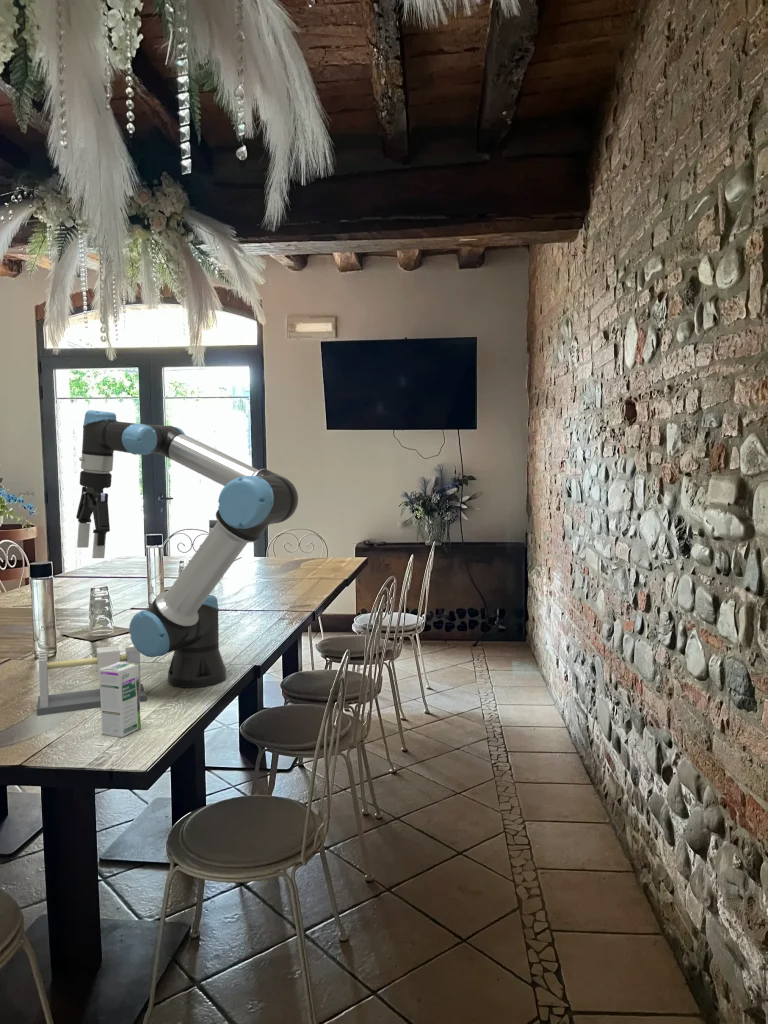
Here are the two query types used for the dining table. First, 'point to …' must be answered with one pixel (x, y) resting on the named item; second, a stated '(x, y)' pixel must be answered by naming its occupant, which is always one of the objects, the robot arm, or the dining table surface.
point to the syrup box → (120, 699)
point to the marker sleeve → (107, 656)
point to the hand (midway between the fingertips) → (90, 552)
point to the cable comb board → (80, 698)
